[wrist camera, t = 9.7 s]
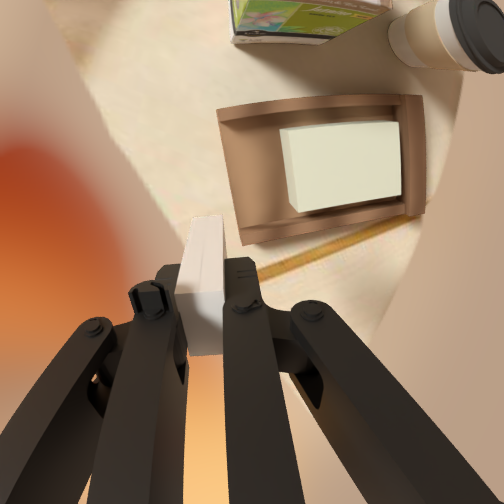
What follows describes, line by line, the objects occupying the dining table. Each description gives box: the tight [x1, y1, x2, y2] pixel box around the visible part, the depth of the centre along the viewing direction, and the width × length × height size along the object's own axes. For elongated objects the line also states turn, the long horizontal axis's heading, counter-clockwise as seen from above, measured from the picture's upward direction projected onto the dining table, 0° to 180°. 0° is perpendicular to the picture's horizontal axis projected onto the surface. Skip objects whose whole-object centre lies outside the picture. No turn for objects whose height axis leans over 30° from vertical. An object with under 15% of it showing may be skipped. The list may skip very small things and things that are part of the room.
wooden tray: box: [216, 94, 426, 246], centre depth 30 cm, size 22×14×4 cm, turn 100°
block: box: [279, 120, 401, 213], centre depth 29 cm, size 4×8×12 cm
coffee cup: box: [388, 0, 504, 74], centre depth 20 cm, size 9×9×15 cm
